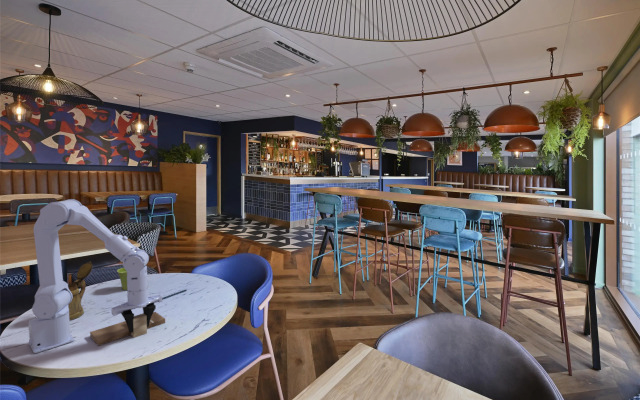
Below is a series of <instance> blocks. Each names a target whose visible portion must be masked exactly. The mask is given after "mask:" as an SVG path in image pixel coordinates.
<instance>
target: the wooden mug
mask: <svg viewBox="0 0 640 400" xmlns="http://www.w3.org/2000/svg"><path fill="white" fill-rule="evenodd" d="M92 271H93V263H92V261H91V260H90V261H87V262H85V263H84V264H83V265H81V266H80V267H79V268H78V270H77V272H76V280H75V281H73V283H67V284H68V288H69V290H70V291H71V293H72V296H73V298H72V301H71V302H70V304H68V308H69V321H72V320H75V319H78V318H80V317H81V316H83V315H84V313H85V310H84V307H83V306H82V299H83V296H84V294H85V292H86V287H87V284H86V281H85V280H84V279H86V278H87V277H89V275H90V274H91V273H92ZM78 287H79V288H80V289H79V288H78Z"/></svg>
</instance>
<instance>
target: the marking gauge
mask: <svg viewBox="0 0 640 400" xmlns="http://www.w3.org/2000/svg"><path fill="white" fill-rule="evenodd" d="M133 327H134V330H133V333H131V335H130V336H132V338H134V339H135V338H137V337H140V336H143V335H145V334H146V335H147V334H148V329H147V316H146V315H145V314H144V313H143V312H142V313H140V314H136V315H134V319H133Z"/></svg>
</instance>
